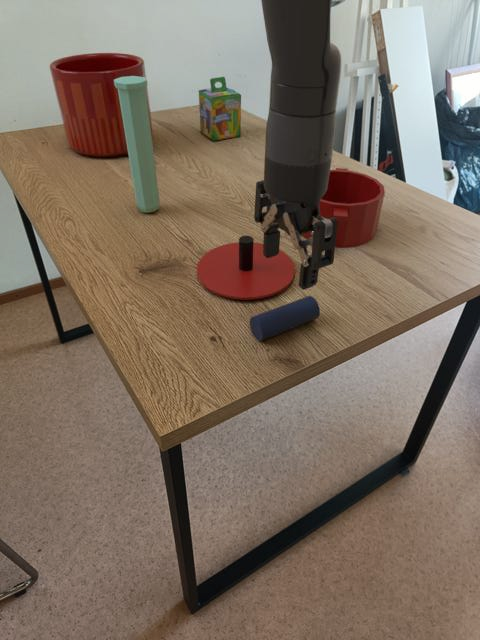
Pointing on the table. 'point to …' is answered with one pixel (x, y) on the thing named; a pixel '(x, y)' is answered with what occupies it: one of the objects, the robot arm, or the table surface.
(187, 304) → the table surface
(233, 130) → the chalk box
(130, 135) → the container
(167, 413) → the table surface
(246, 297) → the pot lid
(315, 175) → the robot arm
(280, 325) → the tube
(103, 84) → the planter
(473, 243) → the table surface
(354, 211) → the pot
